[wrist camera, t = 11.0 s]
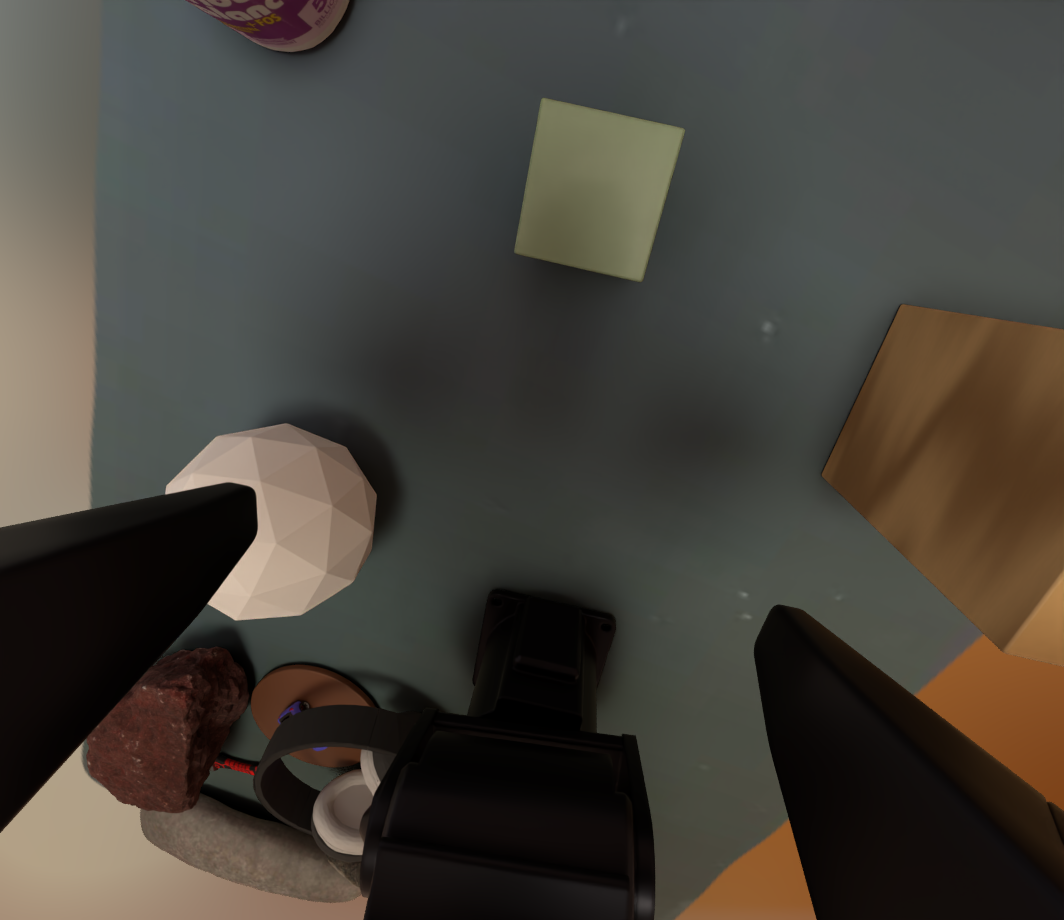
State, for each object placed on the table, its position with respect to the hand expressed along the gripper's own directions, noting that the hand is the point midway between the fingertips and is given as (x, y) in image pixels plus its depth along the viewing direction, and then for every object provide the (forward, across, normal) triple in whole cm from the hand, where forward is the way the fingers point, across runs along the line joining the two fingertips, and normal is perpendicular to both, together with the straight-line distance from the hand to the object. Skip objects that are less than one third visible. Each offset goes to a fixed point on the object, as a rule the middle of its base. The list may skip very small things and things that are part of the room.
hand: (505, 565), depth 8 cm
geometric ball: (+13, +10, +7) cm, 18 cm away
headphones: (+12, -7, +30) cm, 33 cm away
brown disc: (+13, +10, +23) cm, 28 cm away
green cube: (+13, 0, -7) cm, 15 cm away
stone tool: (+12, +14, +33) cm, 38 cm away
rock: (+10, +20, +20) cm, 30 cm away
